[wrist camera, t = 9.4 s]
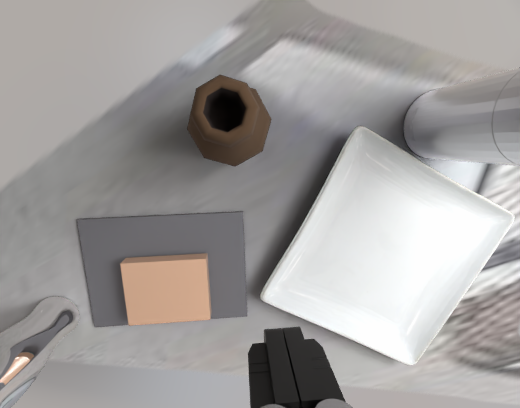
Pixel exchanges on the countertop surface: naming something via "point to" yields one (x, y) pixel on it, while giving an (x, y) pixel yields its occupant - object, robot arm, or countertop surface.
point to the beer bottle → (228, 121)
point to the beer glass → (32, 345)
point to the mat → (162, 244)
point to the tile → (166, 288)
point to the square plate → (386, 249)
